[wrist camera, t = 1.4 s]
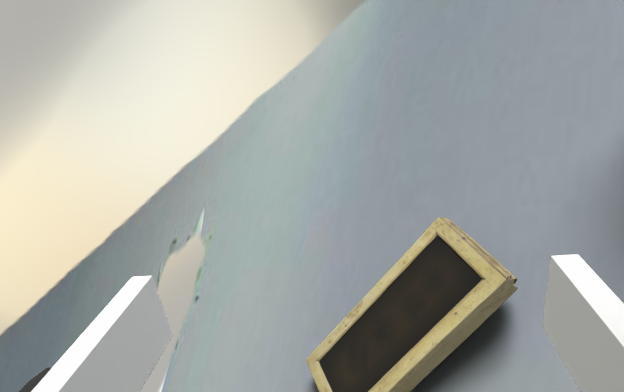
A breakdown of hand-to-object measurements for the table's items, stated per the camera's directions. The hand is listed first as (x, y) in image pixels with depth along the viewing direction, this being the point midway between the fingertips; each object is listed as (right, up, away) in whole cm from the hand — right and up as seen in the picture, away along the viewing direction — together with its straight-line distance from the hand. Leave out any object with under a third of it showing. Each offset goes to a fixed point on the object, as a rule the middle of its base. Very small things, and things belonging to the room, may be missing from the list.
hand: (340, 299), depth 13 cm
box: (+7, -10, +23) cm, 26 cm away
